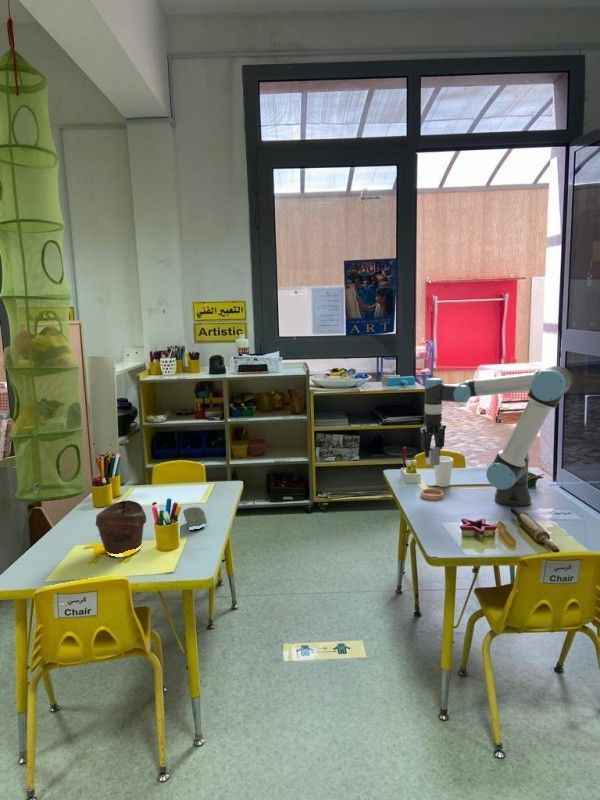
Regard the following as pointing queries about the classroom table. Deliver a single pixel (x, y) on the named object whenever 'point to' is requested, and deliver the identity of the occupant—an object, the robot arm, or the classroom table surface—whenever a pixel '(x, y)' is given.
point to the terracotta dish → (432, 494)
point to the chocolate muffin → (121, 526)
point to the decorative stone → (195, 516)
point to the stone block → (434, 455)
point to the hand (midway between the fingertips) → (432, 463)
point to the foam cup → (443, 471)
